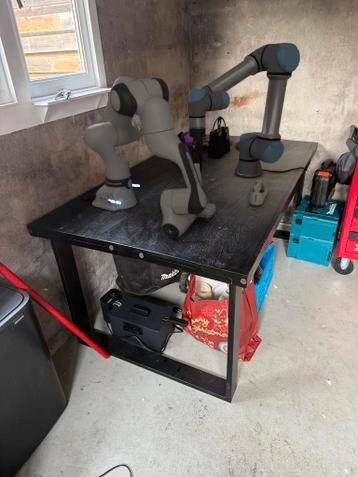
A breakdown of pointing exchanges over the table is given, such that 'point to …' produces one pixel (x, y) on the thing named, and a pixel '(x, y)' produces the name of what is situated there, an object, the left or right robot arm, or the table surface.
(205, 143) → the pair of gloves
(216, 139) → the handbag
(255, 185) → the ballet flat
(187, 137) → the decorative orb
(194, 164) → the bottle
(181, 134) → the boot
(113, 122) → the left robot arm
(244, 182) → the table surface
